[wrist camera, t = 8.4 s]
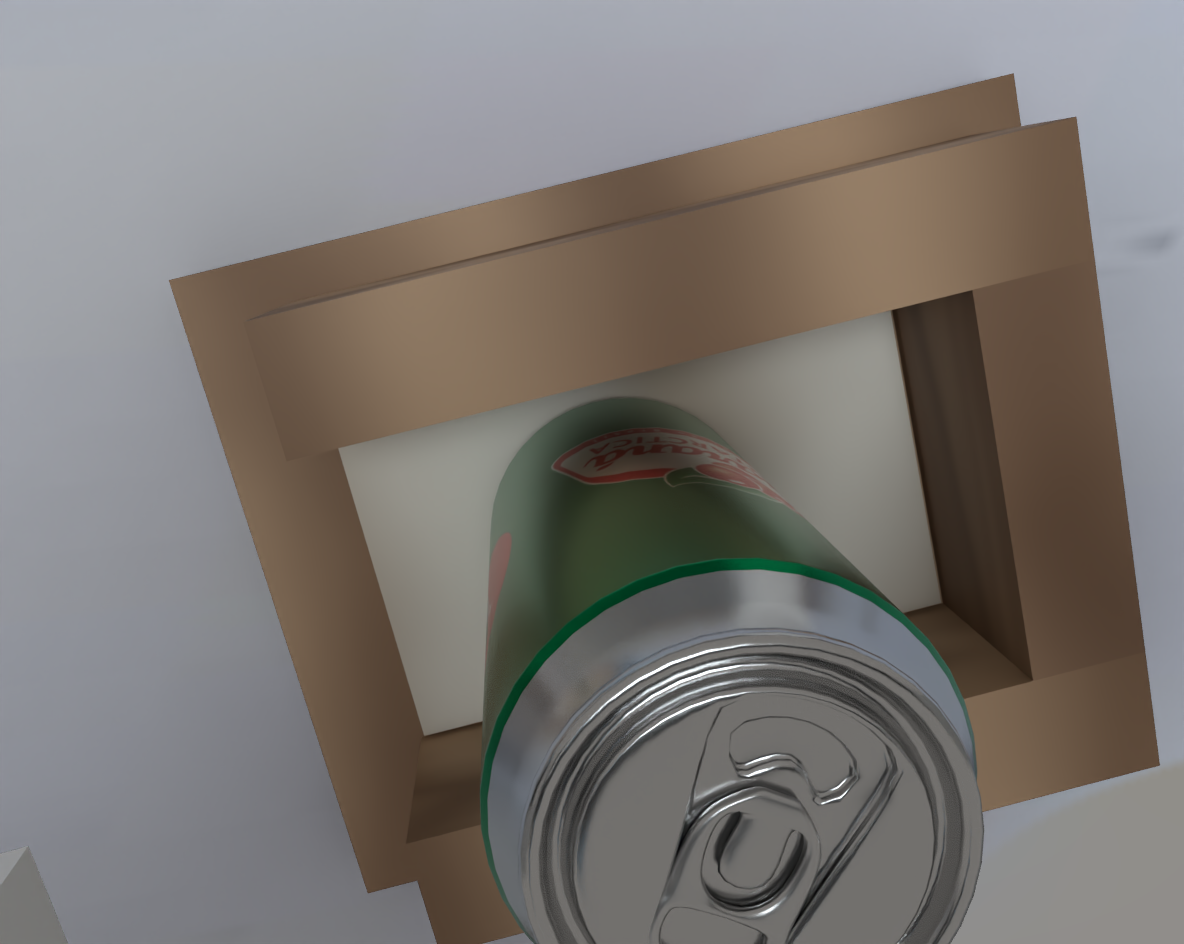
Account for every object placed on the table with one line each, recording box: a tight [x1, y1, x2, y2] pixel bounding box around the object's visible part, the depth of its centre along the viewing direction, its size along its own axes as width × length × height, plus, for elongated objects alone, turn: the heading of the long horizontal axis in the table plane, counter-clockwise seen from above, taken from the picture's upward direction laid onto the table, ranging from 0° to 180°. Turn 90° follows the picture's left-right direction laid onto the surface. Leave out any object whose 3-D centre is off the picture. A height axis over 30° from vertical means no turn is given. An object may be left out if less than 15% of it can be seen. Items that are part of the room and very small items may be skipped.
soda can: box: [480, 398, 984, 944], centre depth 16 cm, size 5×5×12 cm
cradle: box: [169, 73, 1160, 944], centre depth 21 cm, size 16×13×5 cm
